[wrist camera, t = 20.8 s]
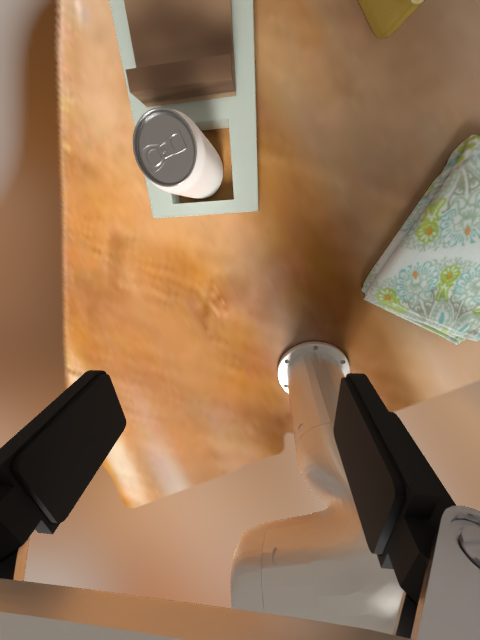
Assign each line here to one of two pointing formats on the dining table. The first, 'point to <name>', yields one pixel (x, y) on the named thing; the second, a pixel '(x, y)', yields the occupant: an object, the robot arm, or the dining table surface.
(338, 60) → the dining table surface
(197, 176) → the can
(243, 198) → the well board
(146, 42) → the lid
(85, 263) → the dining table surface
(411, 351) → the dining table surface
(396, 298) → the towel
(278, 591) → the robot arm
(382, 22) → the flower pot
